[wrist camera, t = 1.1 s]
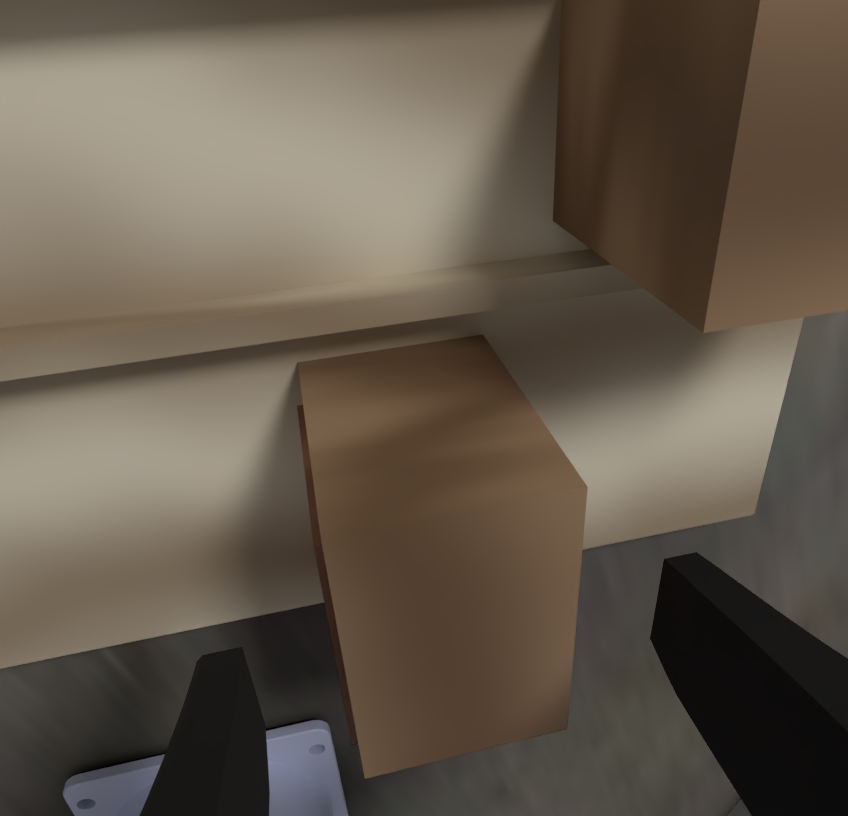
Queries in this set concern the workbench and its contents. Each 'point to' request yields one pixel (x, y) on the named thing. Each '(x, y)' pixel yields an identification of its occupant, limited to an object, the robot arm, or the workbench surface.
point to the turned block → (441, 550)
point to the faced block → (709, 152)
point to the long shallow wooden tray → (303, 294)
